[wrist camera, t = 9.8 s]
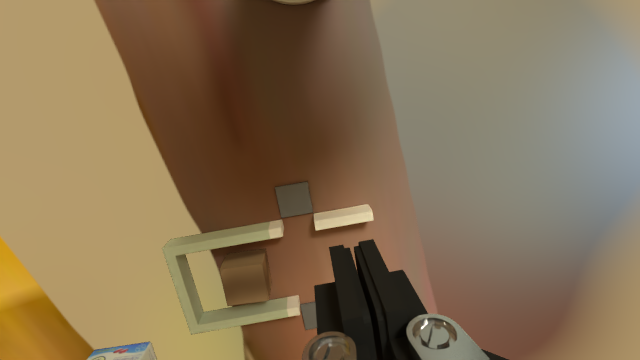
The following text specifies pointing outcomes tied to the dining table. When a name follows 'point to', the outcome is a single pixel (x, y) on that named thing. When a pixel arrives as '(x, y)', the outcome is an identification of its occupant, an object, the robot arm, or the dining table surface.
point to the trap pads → (291, 204)
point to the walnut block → (246, 277)
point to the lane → (236, 236)
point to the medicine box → (125, 352)
